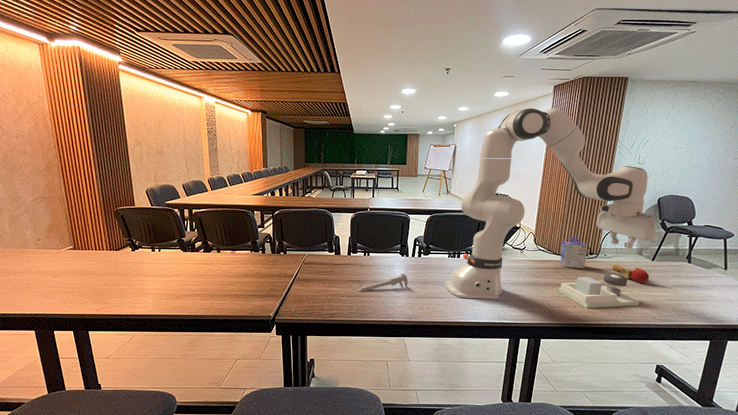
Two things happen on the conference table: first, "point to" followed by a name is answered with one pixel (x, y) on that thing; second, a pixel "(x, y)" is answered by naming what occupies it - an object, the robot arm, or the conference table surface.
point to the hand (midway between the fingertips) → (621, 245)
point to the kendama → (633, 273)
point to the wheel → (615, 279)
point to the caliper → (387, 283)
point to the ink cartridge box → (573, 253)
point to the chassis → (598, 297)
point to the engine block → (588, 286)
